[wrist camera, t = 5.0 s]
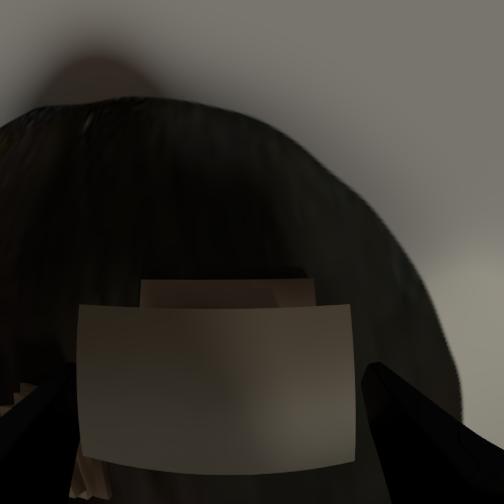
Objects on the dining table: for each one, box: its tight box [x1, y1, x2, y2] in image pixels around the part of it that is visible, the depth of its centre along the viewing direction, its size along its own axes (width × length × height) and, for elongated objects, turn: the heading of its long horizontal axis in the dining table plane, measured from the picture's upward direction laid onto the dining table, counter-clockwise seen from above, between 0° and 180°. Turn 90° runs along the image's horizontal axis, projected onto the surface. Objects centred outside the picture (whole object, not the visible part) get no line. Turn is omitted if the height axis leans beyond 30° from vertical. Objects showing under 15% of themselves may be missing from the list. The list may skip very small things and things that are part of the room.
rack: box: [20, 278, 316, 500], centre depth 13 cm, size 14×19×3 cm
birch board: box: [77, 304, 355, 475], centre depth 9 cm, size 3×5×11 cm, turn 91°
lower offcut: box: [14, 392, 97, 500], centre depth 11 cm, size 6×5×2 cm
